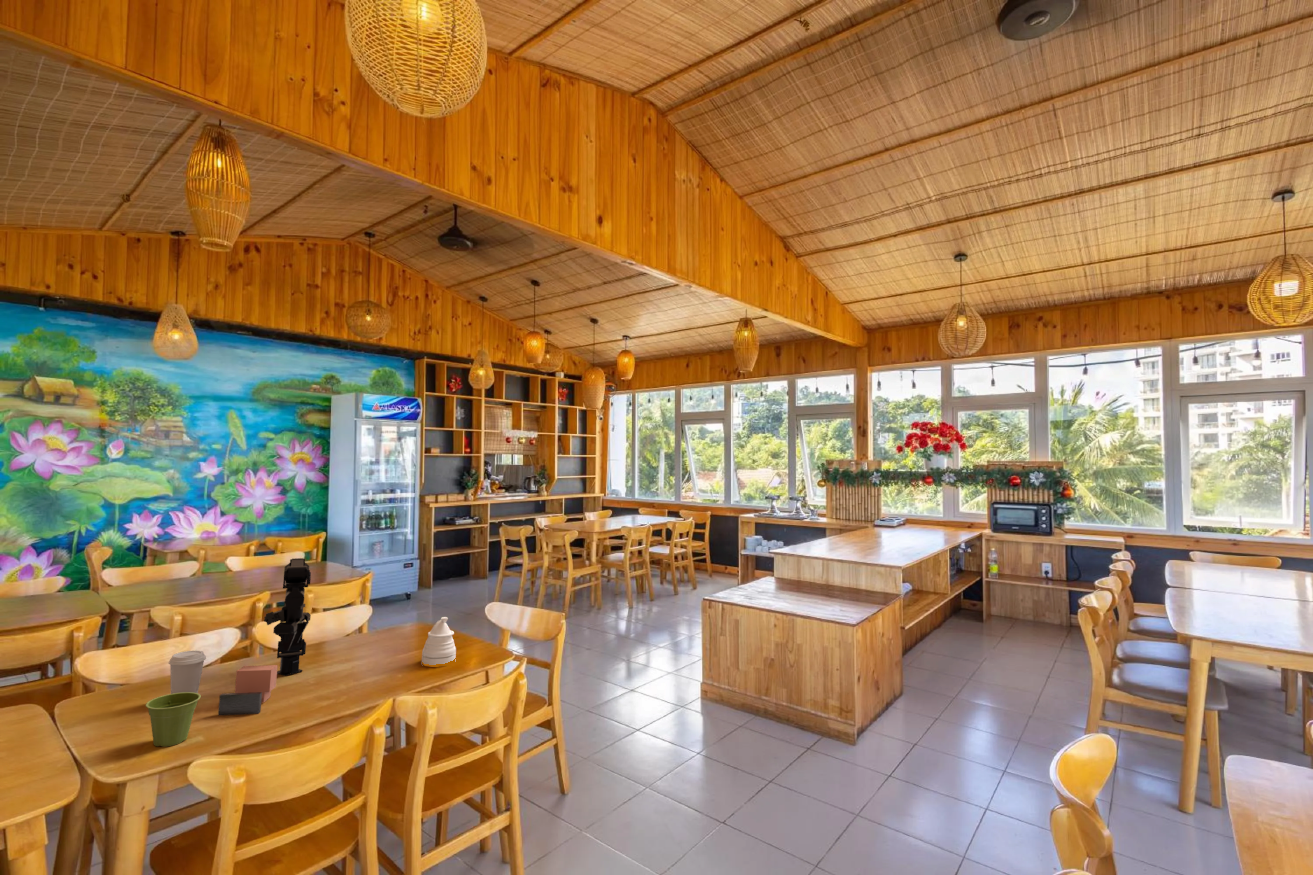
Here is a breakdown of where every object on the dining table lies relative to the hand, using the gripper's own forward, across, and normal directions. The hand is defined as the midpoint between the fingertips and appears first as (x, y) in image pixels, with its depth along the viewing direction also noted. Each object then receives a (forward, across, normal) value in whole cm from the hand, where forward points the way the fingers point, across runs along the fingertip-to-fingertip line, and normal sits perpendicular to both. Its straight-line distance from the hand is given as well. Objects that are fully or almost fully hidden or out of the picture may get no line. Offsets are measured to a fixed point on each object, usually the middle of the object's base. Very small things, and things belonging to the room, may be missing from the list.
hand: (291, 647), depth 210 cm
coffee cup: (+13, +12, -26) cm, 32 cm away
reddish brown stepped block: (+13, +15, -5) cm, 20 cm away
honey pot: (+13, -20, +48) cm, 53 cm away
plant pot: (+13, +43, -15) cm, 48 cm away
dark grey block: (+13, +19, -5) cm, 24 cm away
